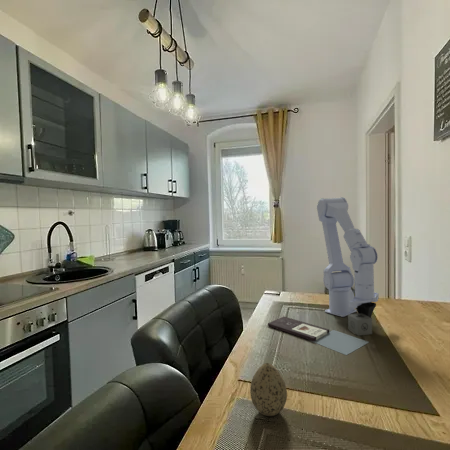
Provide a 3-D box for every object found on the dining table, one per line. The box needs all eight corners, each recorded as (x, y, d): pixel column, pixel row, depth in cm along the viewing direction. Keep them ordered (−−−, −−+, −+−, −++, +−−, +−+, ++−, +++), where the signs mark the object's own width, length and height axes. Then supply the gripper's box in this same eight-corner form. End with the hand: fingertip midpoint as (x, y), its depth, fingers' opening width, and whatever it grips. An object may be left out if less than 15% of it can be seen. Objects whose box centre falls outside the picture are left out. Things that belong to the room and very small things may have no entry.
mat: (333, 330, 96) (333, 329, 96) (369, 342, 86) (369, 341, 86) (310, 341, 89) (310, 340, 89) (346, 355, 79) (346, 355, 79)
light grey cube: (372, 333, 92) (371, 318, 91) (357, 335, 91) (357, 319, 91) (362, 327, 97) (361, 312, 96) (348, 329, 96) (347, 314, 96)
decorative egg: (280, 399, 62) (278, 353, 62) (293, 422, 55) (291, 371, 55) (247, 404, 61) (245, 357, 61) (256, 428, 54) (254, 376, 53)
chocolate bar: (283, 316, 107) (329, 329, 94) (284, 318, 107) (329, 332, 94) (267, 323, 101) (313, 338, 88) (268, 326, 101) (313, 341, 88)
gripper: (364, 290, 88) (365, 334, 89) (387, 281, 97) (388, 322, 97) (343, 286, 94) (344, 327, 94) (366, 278, 102) (367, 316, 103)
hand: (365, 324), depth 96 cm, fingers closed
